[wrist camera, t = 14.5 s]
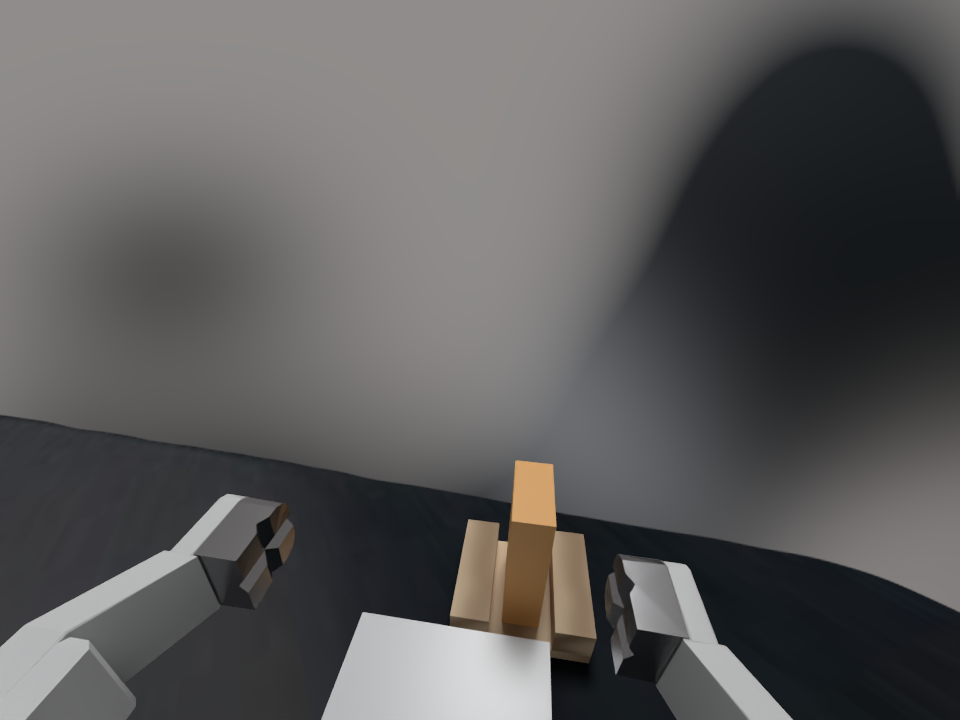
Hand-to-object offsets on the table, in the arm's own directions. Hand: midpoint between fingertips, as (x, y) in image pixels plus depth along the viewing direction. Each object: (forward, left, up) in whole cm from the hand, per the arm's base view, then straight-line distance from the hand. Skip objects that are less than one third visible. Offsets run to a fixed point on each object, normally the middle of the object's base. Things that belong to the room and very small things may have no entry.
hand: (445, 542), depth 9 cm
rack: (+3, +15, -26) cm, 30 cm away
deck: (-2, +5, -26) cm, 27 cm away
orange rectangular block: (+3, +15, -25) cm, 29 cm away
